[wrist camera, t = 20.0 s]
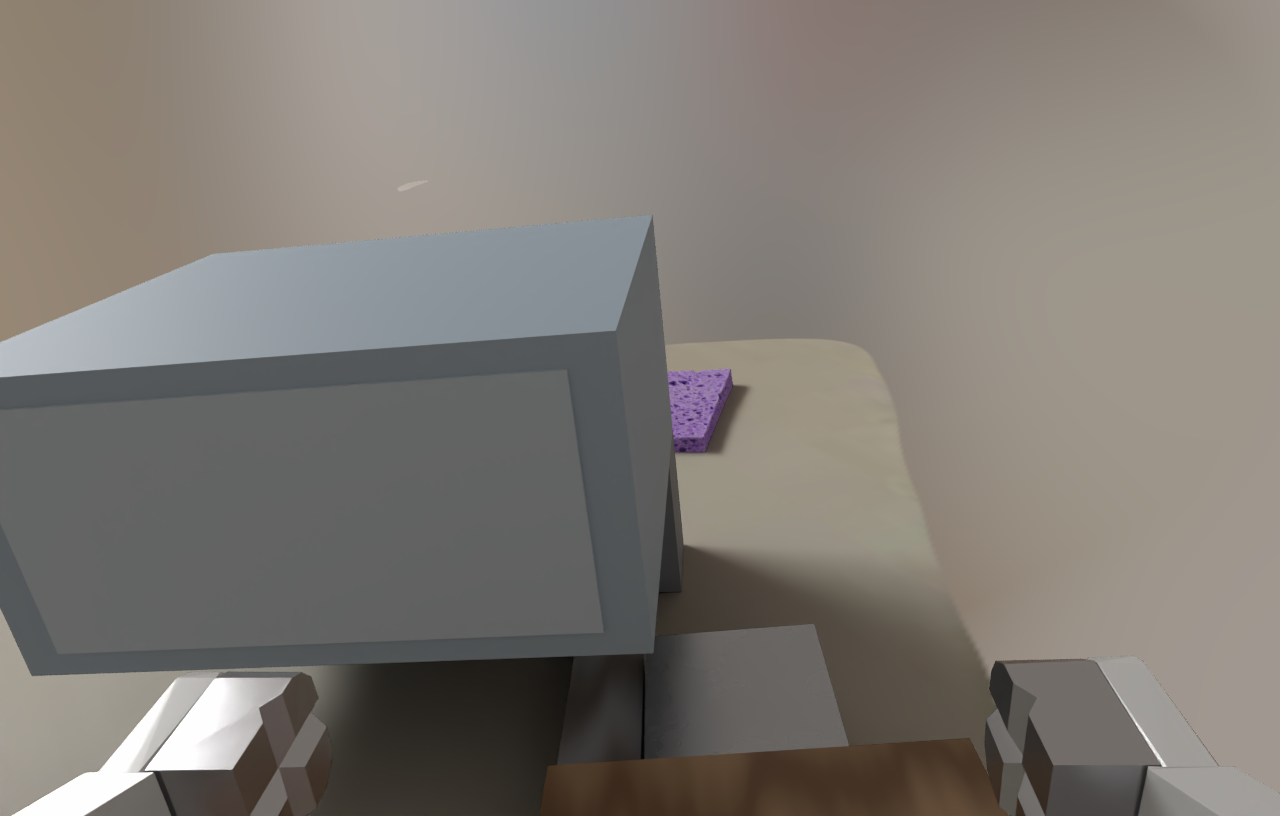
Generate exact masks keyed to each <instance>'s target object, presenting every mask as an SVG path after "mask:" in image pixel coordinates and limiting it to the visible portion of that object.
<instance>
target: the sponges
mask: <svg viewBox="0 0 1280 816" xmlns="http://www.w3.org/2000/svg"><path fill="white" fill-rule="evenodd" d="M667 374H668V385H669V395H670V406H671V417H672V427H673V438H674V448H675V452H706V449H707V445H708V444H709V441H710V438H711V436H712V433H713V431H714V428H715V426H716V423H717V421H718V419H719V416H720V414H721V412H722V409H723V407H724V403H725V402H726V400H727V398H728V395H729V394H730V391H731V389H732V386H733V382H732V376H731V369H719V370H701V371H700V372H699V373H696V372H694V371H693V370H691V371H680V372H678V373H677V372H675V371H673V372H671V371H669V372H667Z"/></svg>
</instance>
